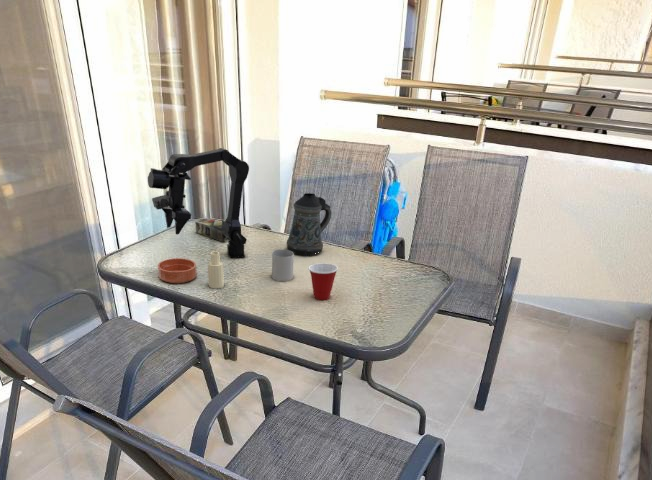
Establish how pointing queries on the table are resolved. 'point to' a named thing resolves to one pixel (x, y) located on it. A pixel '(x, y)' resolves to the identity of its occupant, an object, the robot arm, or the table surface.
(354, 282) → the table surface
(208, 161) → the robot arm
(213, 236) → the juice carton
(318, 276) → the plastic cup
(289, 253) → the cup
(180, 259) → the bowl
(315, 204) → the beer stein
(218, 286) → the bottle
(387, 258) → the table surface
